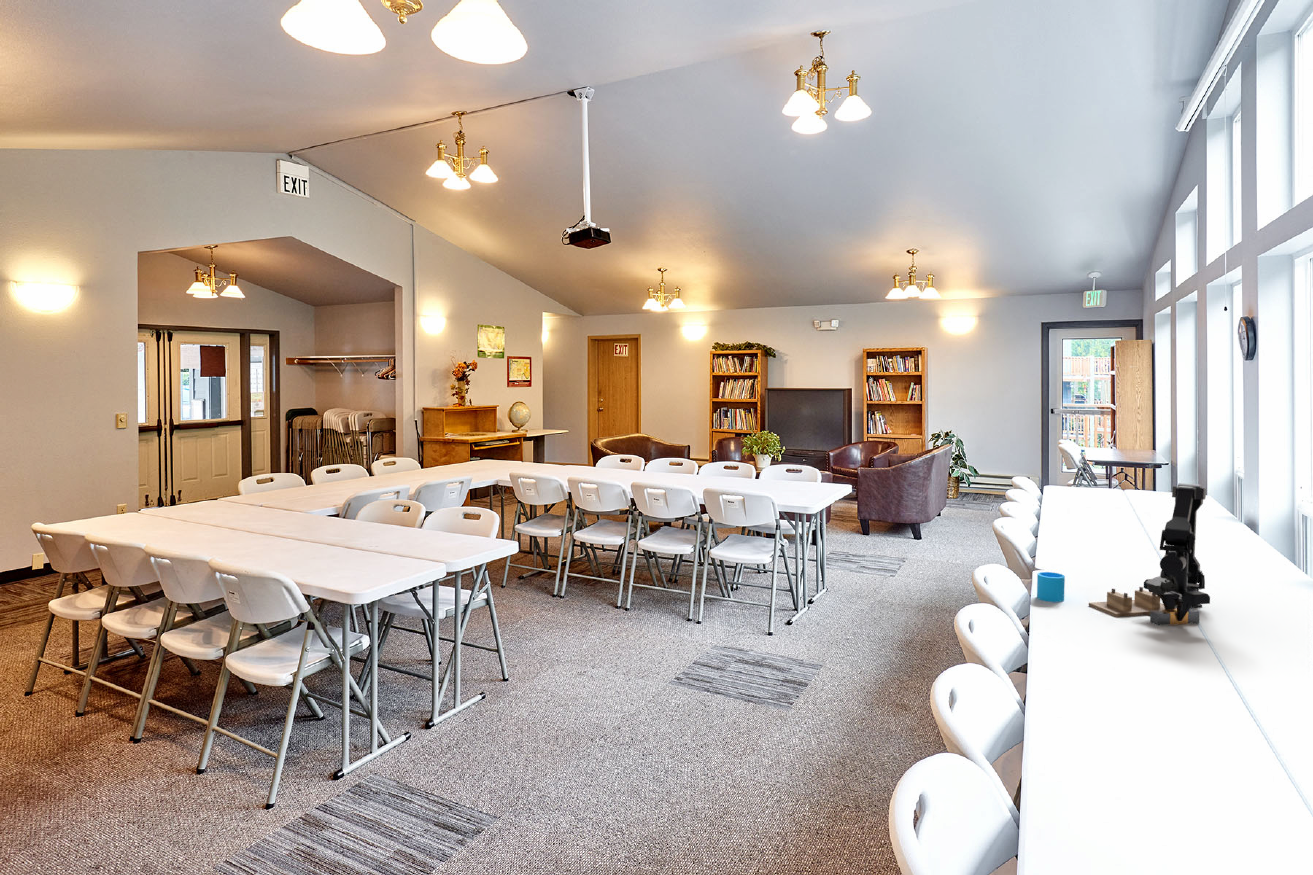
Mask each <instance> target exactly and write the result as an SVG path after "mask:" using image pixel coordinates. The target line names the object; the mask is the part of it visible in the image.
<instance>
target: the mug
mask: <svg viewBox="0 0 1313 875" xmlns="http://www.w3.org/2000/svg"><path fill="white" fill-rule="evenodd" d="M1065 577H1066V576H1065V575H1064V574H1062V573H1058V572H1049V571H1042V572H1037V576H1036V579H1037V582H1036V598H1037V599H1038V600H1040V601H1043V602H1049V603H1062V602H1064V601H1065V588H1066V587H1065V582H1066V579H1065Z"/></svg>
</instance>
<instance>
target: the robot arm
mask: <svg viewBox="0 0 1313 875" xmlns="http://www.w3.org/2000/svg"><path fill="white" fill-rule="evenodd" d="M1171 489H1172V490H1171V498H1174V502H1175V503H1174V507H1173V511H1172V512H1173V513H1172V516H1171V519H1169V520H1168V521H1167V522H1166V523H1165V527H1164V529H1162V531H1161V535H1160V536H1161V537H1160V544H1159V551H1165V554H1164V556H1163V557H1162V558H1161V559H1160V561H1159V567H1160V569H1161V571H1160V574H1159V576H1156V577H1153V578H1147V579H1145V580H1144V581H1143V589H1145V590H1148V592H1151V593H1154V594H1155V595H1157V596H1158V597H1160V601H1161V602H1162V604H1163V605H1164V607H1165V609H1174V608H1176V609H1177V620H1178V621H1182V620H1183V618H1184V617H1185V615H1186V614H1187V612H1188V611H1189V609H1192V608H1201V607H1203V605H1207V604H1211V596H1210V594H1208V593H1206V592H1202V591H1199V590H1204V589H1205V588H1206V580H1205V579H1206V578H1205V574H1204V573H1203V570H1201V563H1200V561H1199V560H1198V559H1197V557H1196V540H1197V539H1196V538H1197V537H1196V533H1197V532H1196V531H1197V511H1198V510H1199V509H1200V508H1201V506H1202V505H1203V504H1204V500H1206V497H1207V488H1205V487H1202V484H1196V483H1195V484H1194V483H1182V482H1181V483H1178V484H1177V485H1176V486H1175V485H1174V486H1172V488H1171Z"/></svg>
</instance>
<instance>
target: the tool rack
mask: <svg viewBox="0 0 1313 875" xmlns="http://www.w3.org/2000/svg"><path fill="white" fill-rule="evenodd" d="M1138 588H1139V589H1137V590H1134V599H1133V597H1131V596H1129V594H1128V593H1127V592H1124V593H1121V592H1117V591H1116V588H1111V591H1107V592H1106V601H1098V602H1097V601H1095V602H1088V607H1090V608H1093V609H1095V610H1098V611H1101V612H1102V613H1103V612H1104V613H1105V614H1107V615H1110V616H1113V617H1116V618H1118V617H1119V618H1120V617H1121V618H1122V617H1133V616H1134V617H1135V616H1136V617H1137V616H1150V611H1162V610H1165V607H1164V605H1163V602H1162V603H1161V598H1160V597H1158V596H1157V595H1155V594H1154V593H1152V592H1149V590H1148V591H1147V590H1146V589H1145V590H1144V586H1139V587H1138ZM1174 609H1177V607H1175V608H1174Z"/></svg>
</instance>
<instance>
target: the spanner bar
mask: <svg viewBox="0 0 1313 875" xmlns="http://www.w3.org/2000/svg"><path fill="white" fill-rule="evenodd" d="M1200 613H1201V612H1200V611H1199V610H1196V609H1194V608H1190V609H1189V611H1188V612H1187V614H1186V615H1185V617H1184V618H1183V620H1182V621H1178V620H1177V608H1176V609H1165V610H1162V611H1150V615H1149V616H1150V617H1149V622H1150V624H1153V623H1154V624H1153V625H1155V624H1156V626H1171V625H1172V626H1173V625H1185V624H1186V625H1187V624H1200Z"/></svg>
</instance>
